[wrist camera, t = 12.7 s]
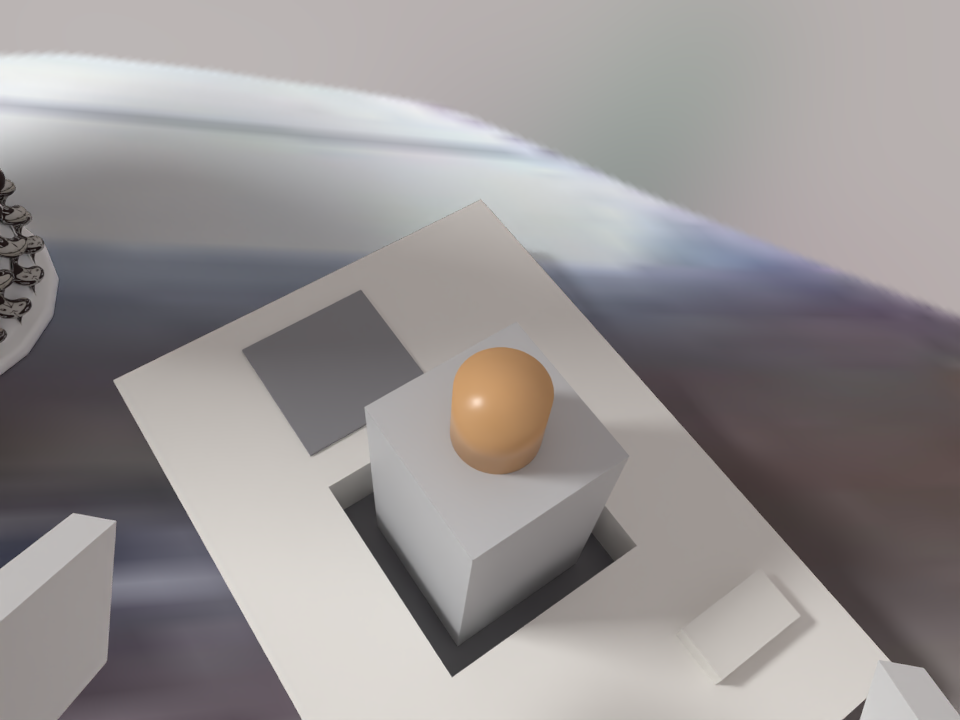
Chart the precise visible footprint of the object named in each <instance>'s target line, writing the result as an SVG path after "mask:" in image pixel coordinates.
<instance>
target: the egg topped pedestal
mask: <svg viewBox="0 0 960 720" xmlns="http://www.w3.org/2000/svg"><path fill="white" fill-rule="evenodd" d="M364 408H365V417H366V426H367V435H368V444H369V454H370V463H371V472H372V481H373V490H374V500H375V509H376V518H377V526H378V527H379V529H380V530H381V532H382V533H383V535H384V536H385V538H386V539H387V541H388V542H389V544H390V545H391V547H392V548H393V550H394V551H395V553H396V554H397V556H398V558H399V559H400V561H401V562H402V564H403V565H404V567H405V568H406V570H407V571H408V573H409V574H410V576H411V577H412V579H413V580H414V582H415V583H416V585H417V586H418V588H419V589H420V591H421V592H422V594H423V595H424V597H425V598H426V600H427V601H428V603H429V604H430V606H431V607H432V609H433V610H434V612H435V613H436V615H437V616H438V618H439V619H440V621H441V622H442V624H443V625H444V627H445V628H446V630H447V631H448V633H449V634H450V636H451V637H452V639H453V640H454V642H455V643H456V645H457V646H459V645H460V644H462V643H463V642H464V641H466V640H467V639H469V638H470V637H472V636H473V635H474V634H476V633H477V632H479V631H480V630H482V629H483V628H484V627H486V626H487V625H489V624H490V623H492V622H493V621H494V620H496V619H497V618H499V617H500V616H501V615H503V614H504V613H506V612H507V611H509V610H510V609H511V608H513V607H514V606H516V605H517V604H519V603H520V602H521V601H523V600H524V599H526V598H527V597H529V596H530V595H531V594H533V593H534V592H536V591H537V590H539V589H540V588H541V587H543V586H544V585H546V584H547V583H549V582H550V581H551V580H553V579H554V578H556V577H557V576H559V575H560V574H561V573H563V572H564V571H566V570H567V569H568V568H570V567H571V566H573V565H574V564H576V562H577V560H578V558H579V556H580V554H581V552H582V550H583V548H584V546H585V544H586V542H587V540H588V538H589V536H590V534H591V532H592V530H593V528H594V526H595V524H596V522H597V520H598V518H599V516H600V514H601V512H602V510H603V508H604V506H605V504H606V502H607V500H608V498H609V496H610V494H611V492H612V490H613V488H614V486H615V484H616V482H617V480H618V478H619V476H620V474H621V472H622V470H623V468H624V466H625V464H626V462H627V460H628V458H629V455H628V454H627V452H626V451H625V450H624V449H623V448H622V446H621V445H620V444H619V443H618V442H617V441H616V439H615V438H614V437H613V436H612V435H611V433H610V432H609V431H608V430H607V429H606V427H605V426H604V425H603V424H602V423H601V422H600V420H599V419H598V418H597V417H596V416H595V414H594V413H593V412H592V411H591V410H590V408H589V407H588V406H587V405H586V404H585V403H584V401H583V400H582V399H581V398H580V397H579V395H578V394H577V393H576V392H575V391H574V389H573V388H572V387H571V386H570V385H569V384H568V382H567V381H566V380H565V379H564V378H563V376H562V375H561V374H560V373H559V372H558V370H557V369H556V368H555V367H554V366H553V365H552V363H551V362H550V361H549V360H548V359H547V357H546V356H545V355H544V354H543V353H542V351H541V350H540V349H539V348H538V347H537V346H536V344H535V343H534V342H533V341H532V340H531V338H530V337H529V336H528V335H527V334H526V332H525V331H524V330H523V329H522V328H521V327H520V325H519V324H518V323H517V322H515V323H513V324H511V325H509V326H508V327H506V328H504V329H502V330H501V331H499V332H497V333H495V334H493V335H492V336H490V337H488V338H486V339H485V340H483V341H481V342H479V343H477V344H476V345H474V346H472V347H470V348H469V349H467V350H465V351H463V352H461V353H460V354H458V355H456V356H454V357H453V358H451V359H449V360H447V361H445V362H444V363H442V364H440V365H438V366H437V367H435V368H433V369H431V370H429V371H428V372H426V373H424V374H422V375H421V376H419V377H417V378H415V379H413V380H412V381H410V382H408V383H406V384H404V385H403V386H401V387H399V388H397V389H396V390H394V391H392V392H390V393H388V394H387V395H385V396H383V397H381V398H380V399H378V400H376V401H374V402H372V403H371V404H369V405H367V406H365V407H364Z"/></svg>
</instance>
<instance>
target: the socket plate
mask: <svg viewBox="0 0 960 720" xmlns="http://www.w3.org/2000/svg"><path fill="white" fill-rule="evenodd" d="M515 322H517V323H518V324H519V325H520V327H521V328H522V329H523V330H524V331H525V332H526V334H527V335H528V336H529V337H530V338H531V340H532V341H533V342H534V343H535V344H536V346H537V347H538V348H539V349H540V350H541V351H542V353H543V354H544V355H545V356H546V357H547V359H548V360H549V361H550V362H551V363H552V365H553V366H554V367H555V368H556V369H557V370H558V372H559V373H560V374H561V375H562V376H563V378H564V379H565V380H566V381H567V382H568V384H569V385H570V386H571V387H572V388H573V389H574V391H575V392H576V393H577V394H578V395H579V397H580V398H581V399H582V400H583V401H584V403H585V404H586V405H587V406H588V407H589V408H590V410H591V411H592V412H593V413H594V414H595V416H596V417H597V418H598V419H599V420H600V422H601V423H602V424H603V425H604V426H605V427H606V429H607V430H608V431H609V432H610V433H611V435H612V436H613V437H614V438H615V439H616V441H617V442H618V443H619V444H620V445H621V446H622V448H623V449H624V450H625V451H626V452H627V454H628V455H629V458H628V460H627V462H626V464H625V466H624V468H623V470H622V472H621V474H620V476H619V478H618V480H617V482H616V484H615V486H614V488H613V490H612V492H611V494H610V496H609V498H608V500H607V502H606V504H605V506H604V508H603V510H602V512H601V514H600V516H599V518H598V520H597V522H596V524H595V526H594V528H593V530H592V532H591V534H590V536H589V538H588V540H587V542H586V544H585V546H584V548H583V550H582V552H581V554H580V556H579V558H578V560H577V562H576V564H574V565H573V566H571V567H570V568H568V569H567V570H566V571H564V572H563V573H561V574H560V575H559V576H557V577H556V578H554V579H553V580H551V581H550V582H549V583H547V584H546V585H544V586H543V587H541V588H540V589H539V590H537V591H536V592H534V593H533V594H531V595H530V596H529V597H527V598H526V599H524V600H523V601H521V602H520V603H519V604H517V605H516V606H514V607H513V608H511V609H510V610H509V611H507V612H506V613H504V614H503V615H501V616H500V617H499V618H497V619H496V620H494V621H493V622H492V623H490V624H489V625H487V626H486V627H484V628H483V629H482V630H480V631H479V632H477V633H476V634H474V635H473V636H472V637H470V638H469V639H467V640H466V641H464V642H463V643H462V644H460V645H459V646H457V645H456V643H455V642H454V640H453V639H452V637H451V636H450V634H449V633H448V631H447V630H446V628H445V627H444V625H443V624H442V622H441V621H440V619H439V618H438V616H437V615H436V613H435V612H434V610H433V609H432V607H431V606H430V604H429V603H428V601H427V600H426V598H425V597H424V595H423V594H422V592H421V591H420V589H419V588H418V586H417V585H416V583H415V582H414V580H413V579H412V577H411V576H410V574H409V573H408V571H407V570H406V568H405V567H404V565H403V564H402V562H401V561H400V559H399V558H398V556H397V554H396V553H395V551H394V550H393V548H392V547H391V545H390V544H389V542H388V541H387V539H386V538H385V536H384V535H383V533H382V532H381V530H380V529H379V527H378V526H377V518H376V509H375V500H374V490H373V481H372V472H371V463H370V454H369V444H368V435H367V426H366V417H365V408H364V407H365V406H367V405H369V404H371V403H372V402H374V401H376V400H378V399H380V398H381V397H383V396H385V395H387V394H388V393H390V392H392V391H394V390H396V389H397V388H399V387H401V386H403V385H404V384H406V383H408V382H410V381H412V380H413V379H415V378H417V377H419V376H421V375H422V374H424V373H426V372H428V371H429V370H431V369H433V368H435V367H437V366H438V365H440V364H442V363H444V362H445V361H447V360H449V359H451V358H453V357H454V356H456V355H458V354H460V353H461V352H463V351H465V350H467V349H469V348H470V347H472V346H474V345H476V344H477V343H479V342H481V341H483V340H485V339H486V338H488V337H490V336H492V335H493V334H495V333H497V332H499V331H501V330H502V329H504V328H506V327H508V326H509V325H511V324H513V323H515ZM113 381H114V383H115V385H116V387H117V388H118V390H119V392H120V394H121V396H122V397H123V399H124V401H125V403H126V405H127V406H128V408H129V410H130V412H131V414H132V415H133V417H134V419H135V421H136V423H137V424H138V426H139V428H140V430H141V431H142V433H143V435H144V437H145V439H146V440H147V442H148V444H149V446H150V448H151V449H152V451H153V453H154V455H155V457H156V458H157V460H158V462H159V464H160V466H161V467H162V469H163V471H164V473H165V474H166V476H167V478H168V480H169V482H170V483H171V485H172V487H173V489H174V491H175V492H176V494H177V496H178V498H179V500H180V501H181V503H182V505H183V507H184V509H185V510H186V512H187V514H188V516H189V518H190V519H191V521H192V523H193V525H194V526H195V528H196V530H197V532H198V534H199V535H200V537H201V539H202V541H203V543H204V544H205V546H206V548H207V550H208V552H209V553H210V555H211V557H212V559H213V561H214V562H215V564H216V566H217V568H218V569H219V571H220V573H221V575H222V577H223V578H224V580H225V582H226V584H227V586H228V587H229V589H230V591H231V593H232V595H233V596H234V598H235V600H236V602H237V604H238V605H239V607H240V609H241V611H242V613H243V614H244V616H245V618H246V620H247V621H248V623H249V625H250V627H251V629H252V630H253V632H254V634H255V636H256V638H257V639H258V641H259V643H260V645H261V647H262V648H263V650H264V652H265V654H266V656H267V657H268V659H269V661H270V663H271V664H272V666H273V668H274V670H275V672H276V673H277V675H278V677H279V679H280V681H281V682H282V684H283V686H284V688H285V690H286V691H287V693H288V695H289V697H290V699H291V700H292V702H293V704H294V706H295V708H296V709H297V711H298V713H299V715H300V716H301V718H302V720H843V719H844V718H845V717H846V716H847V715H848V714H849V713H850V712H851V711H853V710H854V709H855V708H856V707H857V706H858V705H859V704H860V703H861V702H863V701H864V700H865V699H866V698H867V695H868V692H869V689H870V685H871V682H872V679H873V676H874V672H875V669H876V666H877V663H878V660H882V661H888V662H891V661H890V660H889V659H888V658H887V657H886V655H885V654H884V653H883V652H882V651H881V650H880V649H879V648H878V646H877V645H876V644H875V643H874V642H873V641H872V640H871V639H870V637H869V636H868V635H867V634H866V633H865V632H864V631H863V629H862V628H861V627H860V626H859V625H858V624H857V623H856V622H855V620H854V619H853V618H852V617H851V616H850V615H849V614H848V613H847V611H846V610H845V609H844V608H843V607H842V606H841V605H840V604H839V602H838V601H837V600H836V599H835V598H834V597H833V596H832V595H831V593H830V592H829V591H828V590H827V589H826V588H825V587H824V586H823V584H822V583H821V582H820V581H819V580H818V579H817V578H816V576H815V575H814V574H813V573H812V572H811V571H810V570H809V569H808V567H807V566H806V565H805V564H804V563H803V562H802V561H801V560H800V558H799V557H798V556H797V555H796V554H795V553H794V552H793V551H792V549H791V548H790V547H789V546H788V545H787V544H786V543H785V542H784V540H783V539H782V538H781V537H780V536H779V535H778V534H777V532H776V531H775V530H774V529H773V528H772V527H771V526H770V525H769V523H768V522H767V521H766V520H765V519H764V518H763V517H762V516H761V514H760V513H759V512H758V511H757V510H756V509H755V508H754V507H753V505H752V504H751V503H750V502H749V501H748V500H747V499H746V498H745V496H744V495H743V494H742V493H741V492H740V491H739V490H738V489H737V487H736V486H735V485H734V484H733V483H732V482H731V481H730V479H729V478H728V477H727V476H726V475H725V474H724V473H723V472H722V470H721V469H720V468H719V467H718V466H717V465H716V464H715V463H714V461H713V460H712V459H711V458H710V457H709V456H708V455H707V454H706V452H705V451H704V450H703V449H702V448H701V447H700V446H699V445H698V443H697V442H696V441H695V440H694V439H693V438H692V437H691V436H690V434H689V433H688V432H687V431H686V430H685V429H684V428H683V426H682V425H681V424H680V423H679V422H678V421H677V420H676V419H675V417H674V416H673V415H672V414H671V413H670V412H669V411H668V410H667V408H666V407H665V406H664V405H663V404H662V403H661V402H660V401H659V399H658V398H657V397H656V396H655V395H654V394H653V393H652V392H651V390H650V389H649V388H648V387H647V386H646V385H645V384H644V382H643V381H642V380H641V379H640V378H639V377H638V376H637V375H636V373H635V372H634V371H633V370H632V369H631V368H630V367H629V366H628V364H627V363H626V362H625V361H624V360H623V359H622V358H621V357H620V355H619V354H618V353H617V352H616V351H615V350H614V349H613V348H612V346H611V345H610V344H609V343H608V342H607V341H606V340H605V339H604V337H603V336H602V335H601V334H600V333H599V332H598V331H597V329H596V328H595V327H594V326H593V325H592V324H591V323H590V322H589V320H588V319H587V318H586V317H585V316H584V315H583V314H582V313H581V311H580V310H579V309H578V308H577V307H576V306H575V305H574V304H573V302H572V301H571V300H570V299H569V298H568V297H567V296H566V295H565V293H564V292H563V291H562V290H561V289H560V288H559V287H558V286H557V284H556V283H555V282H554V281H553V280H552V279H551V278H550V276H549V275H548V274H547V273H546V272H545V271H544V270H543V269H542V267H541V266H540V265H539V264H538V263H537V262H536V261H535V260H534V258H533V257H532V256H531V255H530V254H529V253H528V252H527V251H526V249H525V248H524V247H523V246H522V245H521V244H520V243H519V242H518V240H517V239H516V238H515V237H514V236H513V235H512V234H511V233H510V231H509V230H508V229H507V228H506V227H505V226H504V225H503V223H502V222H501V221H500V220H499V219H498V218H497V217H496V216H495V214H494V213H493V212H492V211H491V210H490V209H489V208H488V207H487V205H486V204H485V203H484V202H483V201H482V200H479V201H477V202H475V203H473V204H471V205H469V206H467V207H464V208H462V209H460V210H458V211H456V212H454V213H452V214H450V215H448V216H446V217H444V218H442V219H440V220H438V221H436V222H434V223H432V224H430V225H428V226H426V227H424V228H422V229H420V230H418V231H416V232H414V233H412V234H410V235H408V236H405V237H403V238H401V239H399V240H397V241H395V242H393V243H391V244H389V245H387V246H385V247H383V248H381V249H379V250H377V251H375V252H373V253H371V254H369V255H367V256H365V257H363V258H361V259H359V260H357V261H355V262H353V263H351V264H349V265H347V266H344V267H342V268H340V269H338V270H336V271H334V272H332V273H330V274H328V275H326V276H324V277H322V278H320V279H318V280H316V281H314V282H312V283H310V284H308V285H306V286H304V287H302V288H300V289H298V290H296V291H294V292H292V293H290V294H288V295H285V296H283V297H281V298H279V299H277V300H275V301H273V302H271V303H269V304H267V305H265V306H263V307H261V308H259V309H257V310H255V311H253V312H251V313H249V314H247V315H245V316H243V317H241V318H239V319H237V320H235V321H233V322H231V323H229V324H227V325H224V326H222V327H220V328H218V329H216V330H214V331H212V332H210V333H208V334H206V335H204V336H202V337H200V338H198V339H196V340H194V341H192V342H190V343H188V344H186V345H184V346H182V347H180V348H178V349H176V350H174V351H172V352H170V353H168V354H165V355H163V356H161V357H159V358H157V359H155V360H153V361H151V362H149V363H147V364H145V365H143V366H141V367H139V368H137V369H135V370H133V371H131V372H129V373H127V374H125V375H123V376H121V377H119V378H117V379H115V380H113Z"/></svg>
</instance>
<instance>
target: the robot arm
mask: <svg viewBox="0 0 960 720" xmlns="http://www.w3.org/2000/svg"><path fill="white" fill-rule="evenodd" d="M115 534H116V521H114V520H108V519H103V518H97V517H92V516H86V515H81V514H75V513H72V514H71V515H70V516H69V517H67V518H66V519H65V520H63V521H62V522H61V523H59V524H58V525H57V526H56V527H54V528H53V529H52V530H50V531H49V532H48V533H46V534H45V535H44V536H43V537H41V538H40V539H39V540H37V541H36V542H35V543H33V544H32V545H31V546H30V547H28V548H27V549H26V550H24V551H23V552H22V553H20V554H19V555H18V556H17V557H15V558H14V559H13V560H11V561H10V562H9V563H7V564H6V565H5V566H4V567H2V568H1V569H0V720H57V719H58V718H59V717H60V716H61V715H62V714H63V712H64V711H65V710H66V709H67V708H68V707H69V705H70V704H71V703H72V702H73V701H74V700H75V698H76V697H77V696H78V695H79V694H80V692H81V691H82V690H83V689H84V688H85V687H86V685H87V684H88V683H89V682H90V681H91V680H92V678H93V677H94V676H95V675H96V674H97V673H98V671H99V670H100V669H101V668H102V667H103V665H104V664H105V663H106V662H107V652H108V638H109V623H110V608H111V593H112V578H113V563H114V549H115ZM860 720H960V715H959V714H958V713H957V711H956V710H955V709H954V707H953V706H952V705H951V703H950V702H949V701H948V699H947V698H946V697H945V695H944V694H943V693H942V691H941V690H940V689H939V687H938V686H937V685H936V683H935V682H934V681H933V679H932V678H931V677H930V675H929V674H928V673H927V672H926V670H925V669H924V668H921V667H915V666H910V665H904V664H899V663H893V662H888V661H882V660H878V663H877V666H876V669H875V672H874V676H873V679H872V682H871V685H870V689H869V692H868V695H867V698H866V701H865V705H864V708H863V711H862V714H861V718H860Z"/></svg>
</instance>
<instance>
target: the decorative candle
mask: <svg viewBox="0 0 960 720" xmlns="http://www.w3.org/2000/svg"><path fill="white" fill-rule="evenodd" d="M14 191H15V185H14V183H13V182H11V181H10V180H7V179H5V176H4V174H3V172H2V170H1V169H0V375H2V374H3V373H4V372H5V371H7V370H8V369H9V368H11V367H12V366H13V365H15V364H16V363H17V362H19V361H20V360H21V359H22V358H24V357H25V356H26V355H28V354H29V352H30V351H31V349H32V348H33V346H34V345H35V343H36V342H37V340H38V339H39V337H40V336H41V334H42V333H43V331H44V330H45V328H46V327H47V325H48V324H49V322H50V321H51V319H52V318H53V315H54V309H55V302H56V296H57V290H58V283H59V278H58V275H57V273H56V270H55V268H54V265H53V263H52V260H51V257H50V255H49V252H48V250H47V247H46V246H45V244H44V241H43V240H42V239H41V238H40V237H39V236H35V235H34V234H32V233H31V232H30V231H29V230H27V229H26V228H25V227H24V225H26V224H28V223H29V222H30V221H31V220H32V216H31V214H30V213H29V212H27V211H26V209H25V208H24V207H22V206H19V205H15V206H12V207H9V206H6V205H5V201H6V198H7V197H8V196H9V195H11V194H12V193H14Z"/></svg>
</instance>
